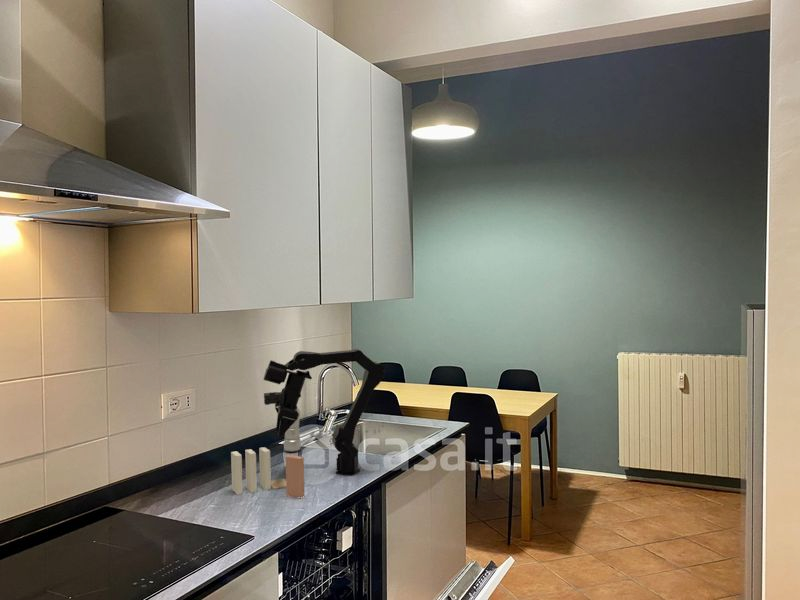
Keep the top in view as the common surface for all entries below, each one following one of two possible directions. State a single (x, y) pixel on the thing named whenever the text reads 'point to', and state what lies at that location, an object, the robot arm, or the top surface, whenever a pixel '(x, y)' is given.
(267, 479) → the ivory domino
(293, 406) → the robot arm
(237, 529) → the top surface
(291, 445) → the plastic bottle
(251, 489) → the ivory domino
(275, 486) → the birch pad
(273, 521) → the top surface
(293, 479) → the terracotta domino
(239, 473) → the ivory domino
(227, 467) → the top surface
